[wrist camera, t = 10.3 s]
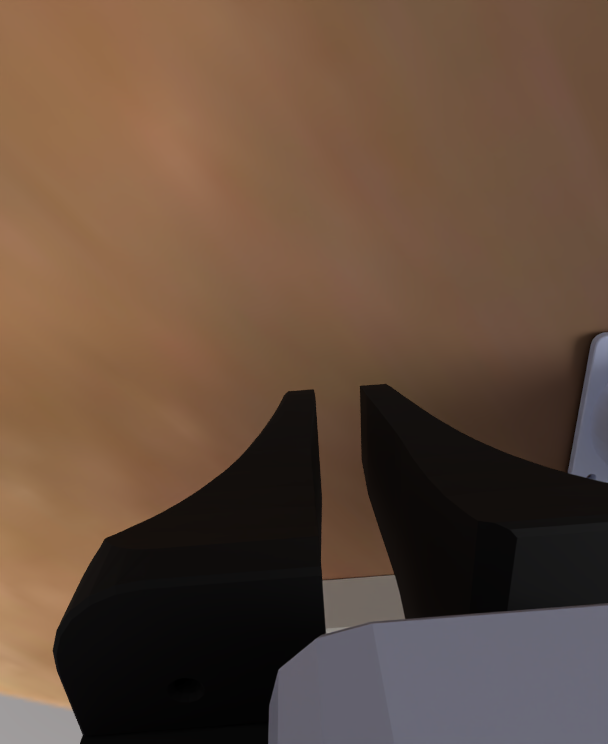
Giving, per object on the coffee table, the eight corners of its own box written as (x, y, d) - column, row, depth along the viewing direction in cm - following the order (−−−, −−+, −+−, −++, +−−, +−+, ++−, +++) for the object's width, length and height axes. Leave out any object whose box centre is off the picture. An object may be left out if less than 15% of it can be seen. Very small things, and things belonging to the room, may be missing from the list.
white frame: (512, 565, 27) (538, 612, 24) (493, 704, 32) (512, 756, 29) (295, 582, 27) (296, 630, 24) (309, 719, 32) (311, 772, 29)
